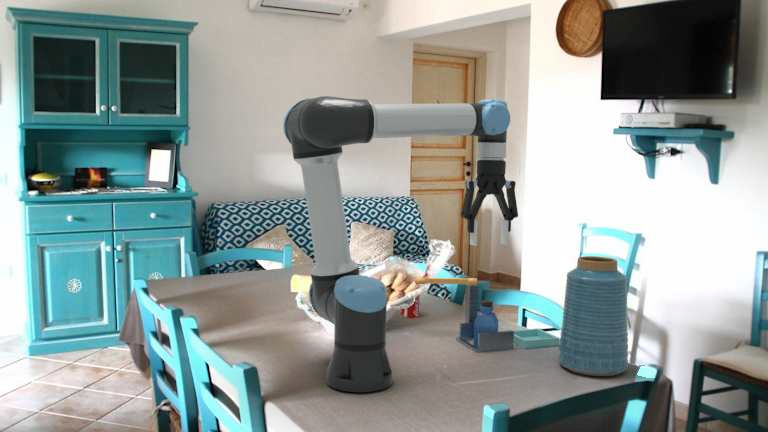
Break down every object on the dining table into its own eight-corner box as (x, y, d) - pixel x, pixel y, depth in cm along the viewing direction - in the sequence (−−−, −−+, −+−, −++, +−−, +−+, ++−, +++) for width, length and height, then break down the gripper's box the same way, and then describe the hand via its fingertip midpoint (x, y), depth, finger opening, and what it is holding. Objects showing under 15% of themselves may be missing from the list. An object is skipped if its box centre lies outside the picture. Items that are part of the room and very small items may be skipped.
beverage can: (413, 322, 213) (414, 283, 212) (396, 319, 215) (397, 281, 214) (422, 318, 218) (423, 280, 217) (405, 316, 220) (406, 278, 219)
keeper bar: (415, 284, 194) (415, 278, 194) (415, 282, 197) (415, 276, 197) (477, 285, 194) (478, 279, 194) (476, 283, 197) (476, 277, 197)
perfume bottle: (496, 349, 185) (498, 304, 184) (473, 347, 186) (474, 303, 185) (497, 343, 191) (499, 299, 190) (474, 341, 192) (476, 298, 191)
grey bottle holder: (513, 349, 185) (515, 294, 183) (475, 352, 181) (477, 297, 180) (484, 334, 200) (486, 283, 199) (449, 337, 196) (450, 285, 195)
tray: (559, 347, 188) (559, 338, 188) (524, 350, 184) (525, 340, 184) (538, 337, 198) (538, 328, 198) (504, 339, 194) (505, 331, 194)
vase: (598, 355, 181) (603, 252, 179) (642, 374, 166) (648, 262, 163) (544, 361, 175) (548, 255, 173) (585, 381, 160) (590, 265, 157)
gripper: (519, 159, 191) (516, 241, 193) (448, 158, 184) (446, 243, 186) (534, 160, 184) (531, 245, 186) (461, 158, 177) (458, 247, 179)
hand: (488, 244), depth 186 cm, fingers open, 8 cm apart
